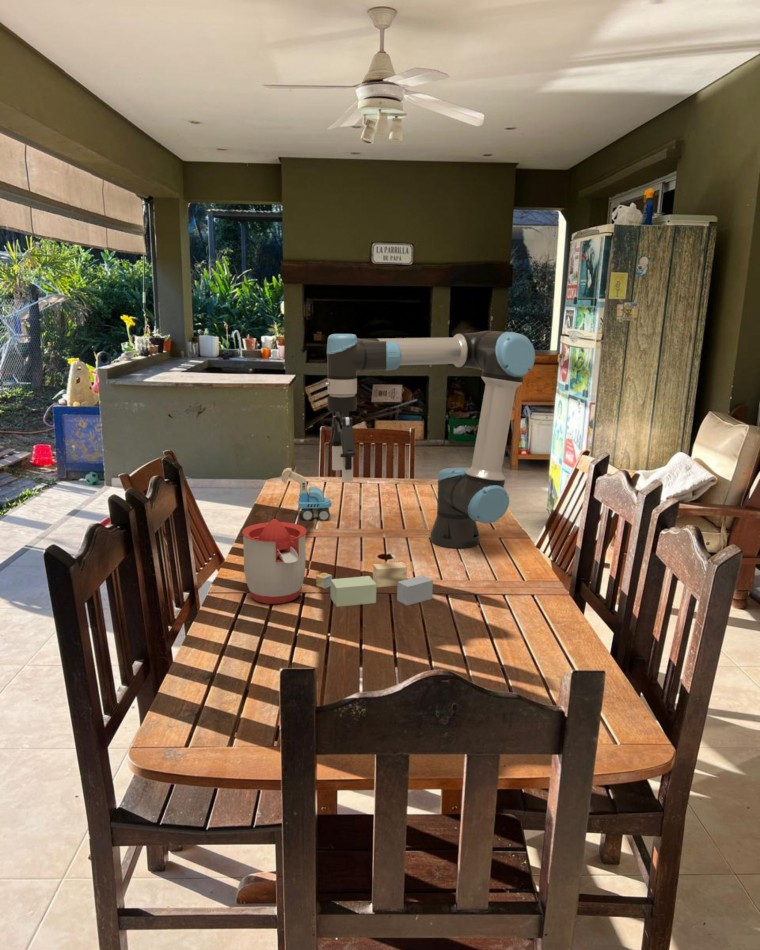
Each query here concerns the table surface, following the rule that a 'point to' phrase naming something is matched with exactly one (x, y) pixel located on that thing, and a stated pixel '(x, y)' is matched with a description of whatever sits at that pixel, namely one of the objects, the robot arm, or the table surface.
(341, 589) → the sage brick
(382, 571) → the maple brick
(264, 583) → the citrus juicer
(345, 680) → the table surface
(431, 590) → the slate brick
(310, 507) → the toy excavator
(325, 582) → the alphabet block
